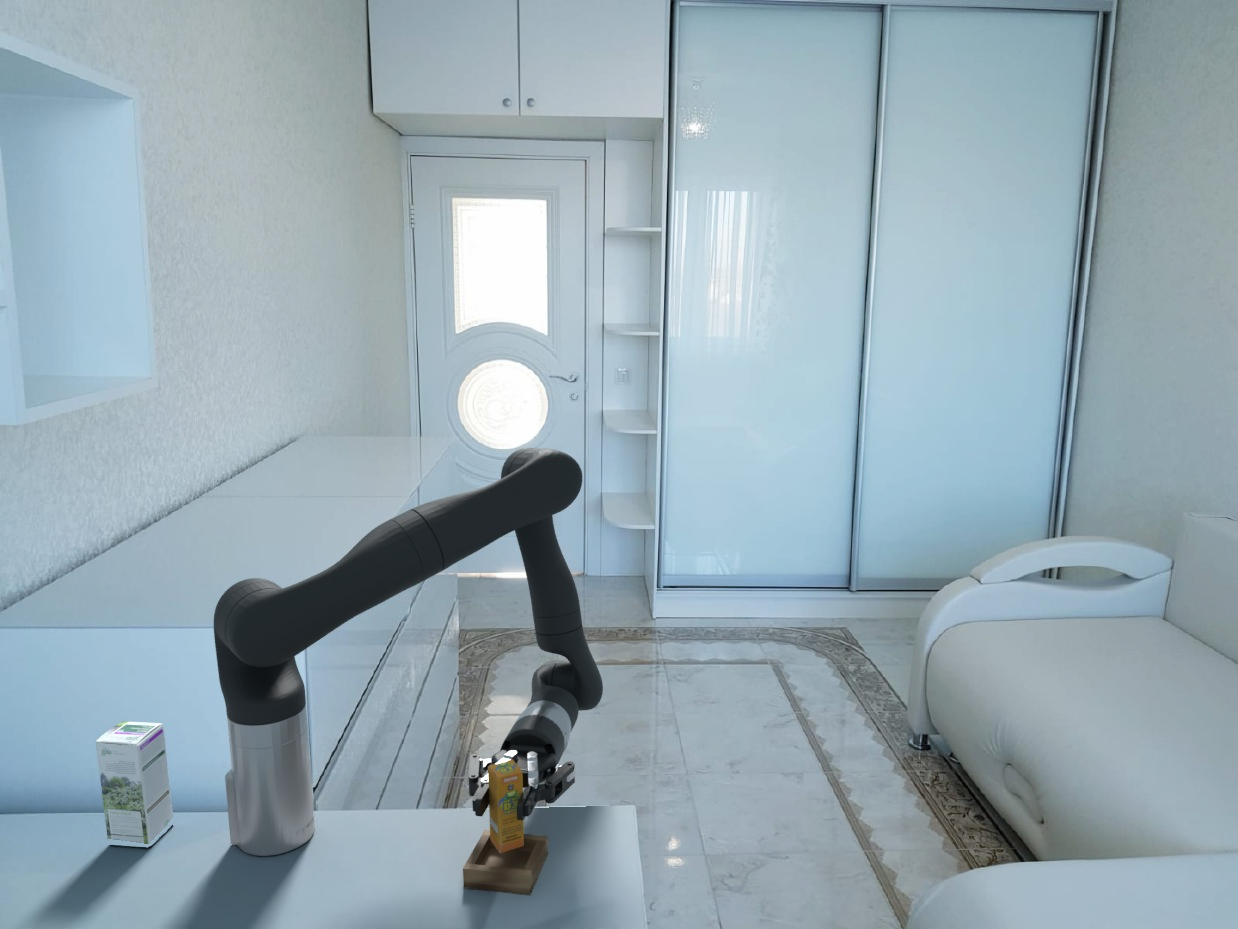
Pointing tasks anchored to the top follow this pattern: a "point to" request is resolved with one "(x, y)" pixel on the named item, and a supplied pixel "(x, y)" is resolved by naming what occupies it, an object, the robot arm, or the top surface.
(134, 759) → the syrup box
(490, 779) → the supplement box
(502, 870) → the tray
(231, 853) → the top surface
